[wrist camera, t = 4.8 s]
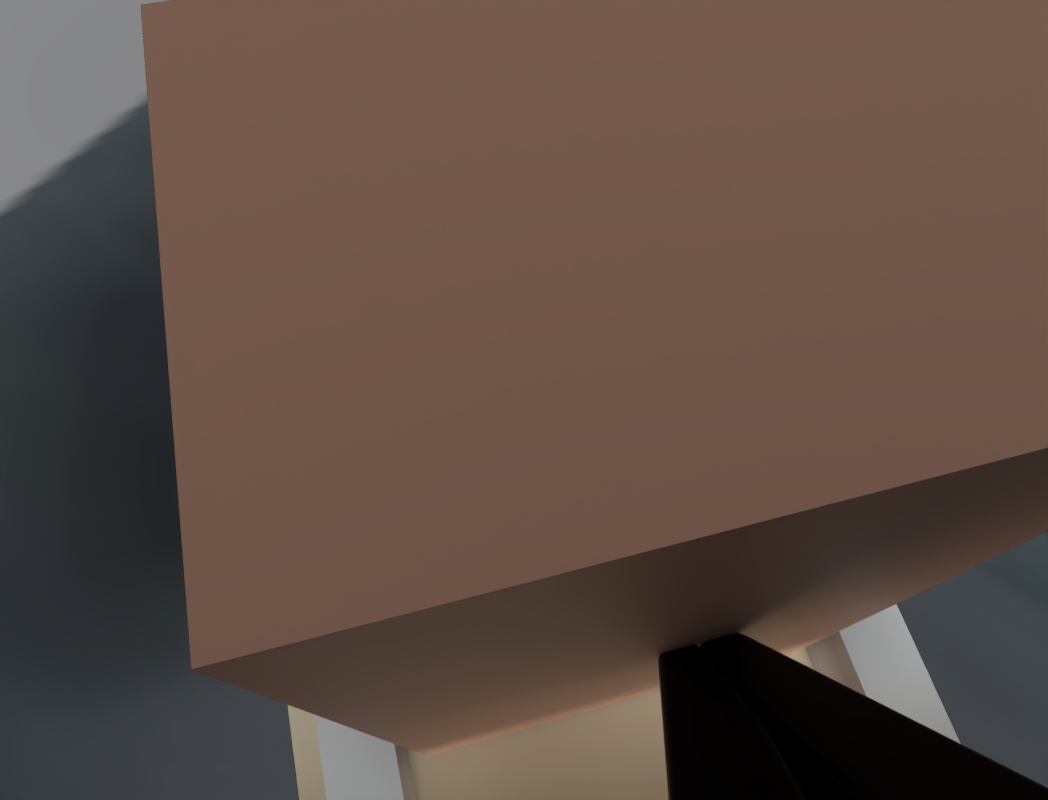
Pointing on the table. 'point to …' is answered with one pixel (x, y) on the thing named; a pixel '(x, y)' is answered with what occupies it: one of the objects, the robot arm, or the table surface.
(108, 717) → the table surface
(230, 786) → the table surface
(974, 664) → the table surface
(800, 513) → the brown rectangular block
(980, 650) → the table surface
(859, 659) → the rail
